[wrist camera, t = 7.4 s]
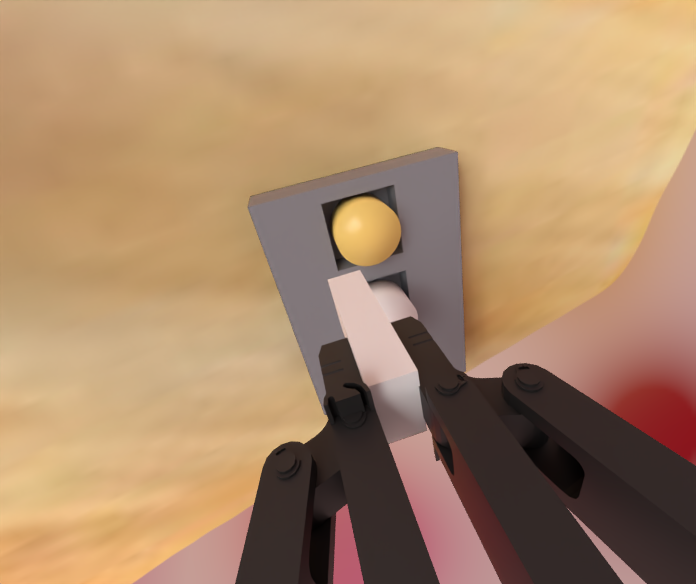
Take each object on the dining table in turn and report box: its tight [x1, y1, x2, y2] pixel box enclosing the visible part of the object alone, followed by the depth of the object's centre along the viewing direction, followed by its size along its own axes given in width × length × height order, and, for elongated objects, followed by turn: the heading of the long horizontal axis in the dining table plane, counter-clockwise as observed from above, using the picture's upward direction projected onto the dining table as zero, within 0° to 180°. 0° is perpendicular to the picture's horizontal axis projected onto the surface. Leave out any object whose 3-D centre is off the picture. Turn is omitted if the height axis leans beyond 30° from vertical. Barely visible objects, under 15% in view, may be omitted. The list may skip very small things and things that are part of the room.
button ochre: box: [330, 193, 401, 266], centre depth 23 cm, size 4×4×3 cm
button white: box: [368, 280, 418, 323], centre depth 25 cm, size 4×4×3 cm
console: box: [248, 147, 466, 415], centre depth 28 cm, size 20×14×3 cm
